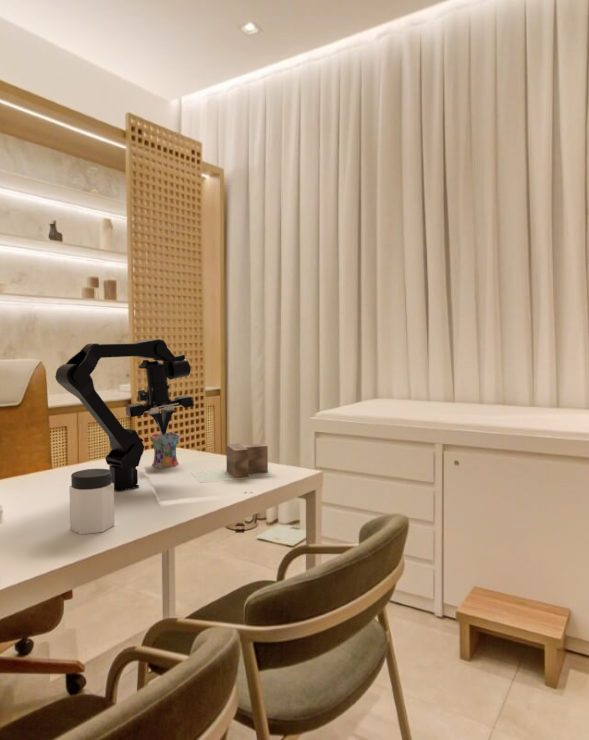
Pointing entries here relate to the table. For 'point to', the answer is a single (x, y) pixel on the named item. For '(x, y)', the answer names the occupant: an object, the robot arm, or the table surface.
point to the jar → (91, 501)
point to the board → (222, 476)
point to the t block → (246, 459)
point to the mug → (165, 450)
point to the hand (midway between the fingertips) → (163, 434)
